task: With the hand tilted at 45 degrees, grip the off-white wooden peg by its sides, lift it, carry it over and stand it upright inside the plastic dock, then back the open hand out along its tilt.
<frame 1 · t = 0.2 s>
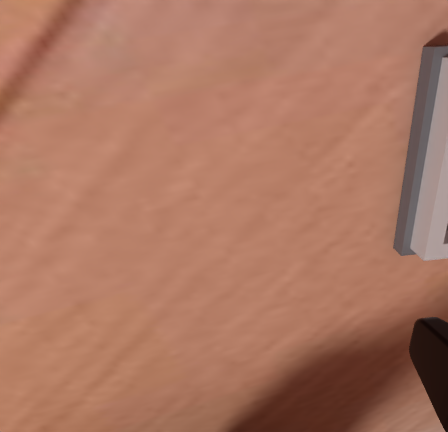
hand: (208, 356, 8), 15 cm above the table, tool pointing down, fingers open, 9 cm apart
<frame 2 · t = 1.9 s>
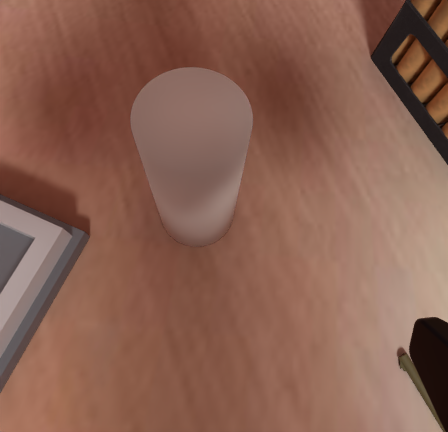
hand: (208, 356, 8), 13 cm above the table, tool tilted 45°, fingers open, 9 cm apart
peg: (197, 211, 23), on the table
ammunition clip: (421, 112, 27), on the table
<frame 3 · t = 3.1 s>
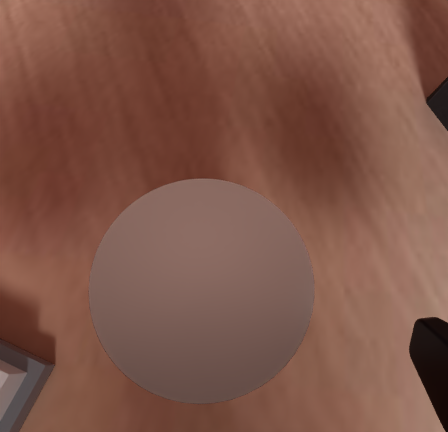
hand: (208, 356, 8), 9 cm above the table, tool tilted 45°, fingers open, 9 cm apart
peg: (204, 323, 17), on the table
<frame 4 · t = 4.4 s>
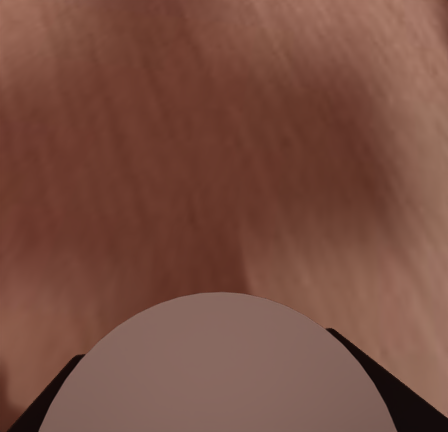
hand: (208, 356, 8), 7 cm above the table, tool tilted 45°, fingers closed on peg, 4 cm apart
peg: (210, 395, 14), on the table, touching gripper
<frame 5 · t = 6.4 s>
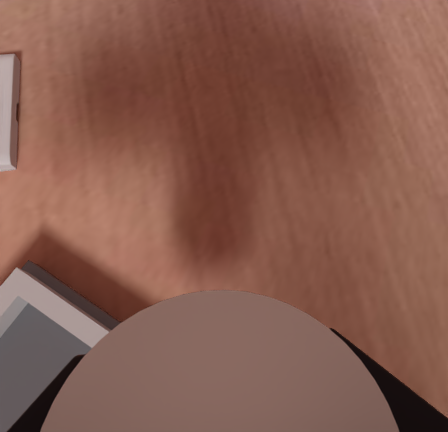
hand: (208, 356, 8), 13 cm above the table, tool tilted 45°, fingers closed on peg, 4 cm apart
dock: (47, 428, 19), on the table
peg: (211, 394, 14), point 7 cm above the table, touching gripper
when the fingers open (9 cm above the table, at t = 8.6 s): peg drops 1 cm, resting on dock.
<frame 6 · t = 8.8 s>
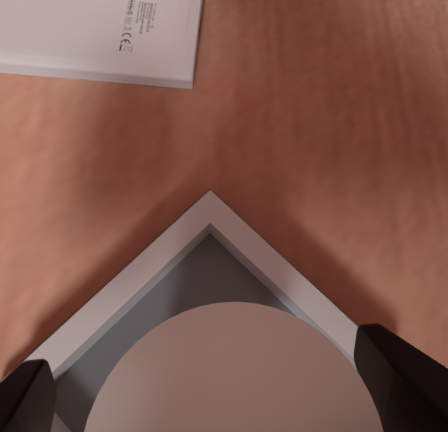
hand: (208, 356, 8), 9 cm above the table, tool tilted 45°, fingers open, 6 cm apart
dock: (209, 389, 16), on the table
external hard drive: (93, 30, 23), on the table
peg: (208, 392, 15), point 1 cm above the table, touching dock
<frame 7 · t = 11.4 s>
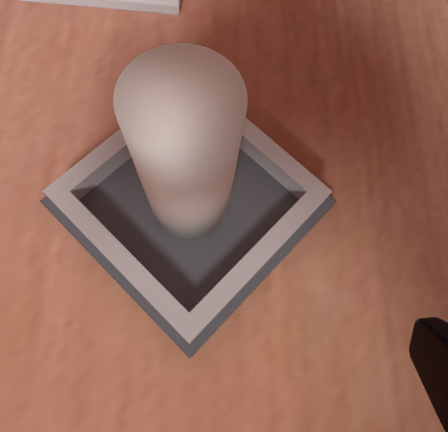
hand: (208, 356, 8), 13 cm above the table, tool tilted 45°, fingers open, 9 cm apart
dock: (191, 207, 23), on the table
peg: (190, 201, 22), point 1 cm above the table, touching dock
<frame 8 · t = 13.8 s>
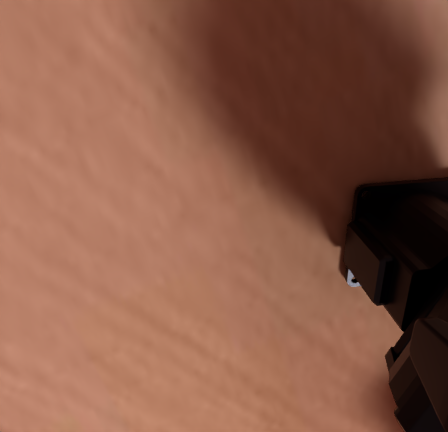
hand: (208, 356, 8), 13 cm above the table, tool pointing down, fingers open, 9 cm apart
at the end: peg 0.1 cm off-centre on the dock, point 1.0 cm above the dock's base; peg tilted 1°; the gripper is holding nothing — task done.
